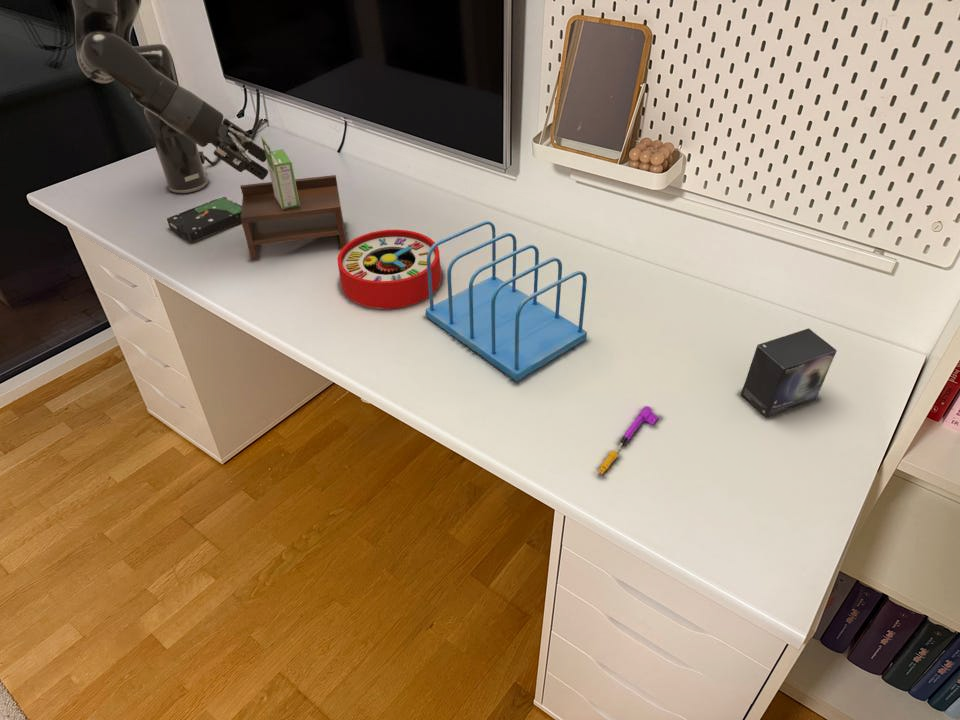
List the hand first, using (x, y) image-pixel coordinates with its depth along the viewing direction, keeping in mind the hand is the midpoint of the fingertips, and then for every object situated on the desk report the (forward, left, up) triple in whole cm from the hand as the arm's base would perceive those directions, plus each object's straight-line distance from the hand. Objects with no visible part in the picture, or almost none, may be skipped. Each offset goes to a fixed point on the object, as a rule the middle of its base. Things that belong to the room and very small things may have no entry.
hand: (266, 166), depth 140 cm
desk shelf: (0, +3, -18) cm, 18 cm away
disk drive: (-13, -17, -18) cm, 28 cm away
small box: (+69, +78, -18) cm, 106 cm away
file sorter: (+41, +40, -18) cm, 60 cm away
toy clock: (+20, +21, -18) cm, 34 cm away
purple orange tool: (+73, +51, -18) cm, 91 cm away
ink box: (0, +3, -8) cm, 9 cm away
